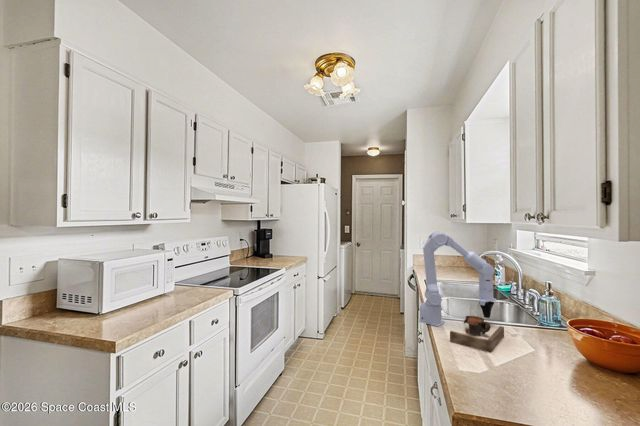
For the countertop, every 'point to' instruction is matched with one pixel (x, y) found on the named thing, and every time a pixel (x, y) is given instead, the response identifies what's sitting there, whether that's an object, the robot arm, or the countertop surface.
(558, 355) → the countertop surface
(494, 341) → the walnut corner walls
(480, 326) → the pottery mug
